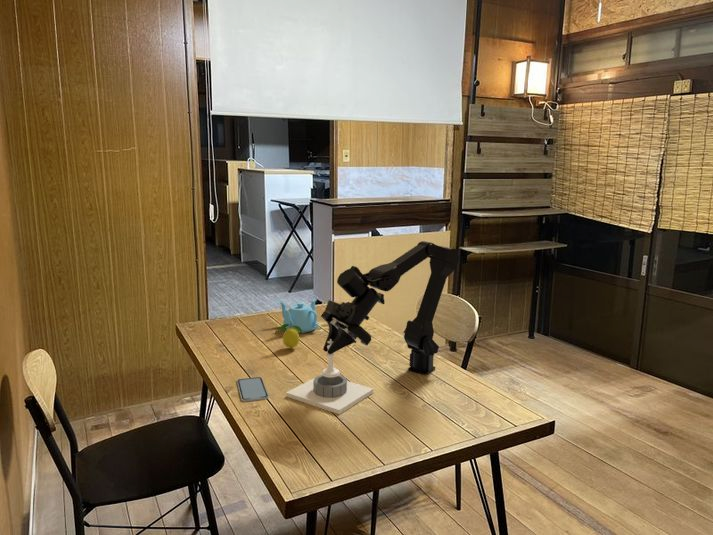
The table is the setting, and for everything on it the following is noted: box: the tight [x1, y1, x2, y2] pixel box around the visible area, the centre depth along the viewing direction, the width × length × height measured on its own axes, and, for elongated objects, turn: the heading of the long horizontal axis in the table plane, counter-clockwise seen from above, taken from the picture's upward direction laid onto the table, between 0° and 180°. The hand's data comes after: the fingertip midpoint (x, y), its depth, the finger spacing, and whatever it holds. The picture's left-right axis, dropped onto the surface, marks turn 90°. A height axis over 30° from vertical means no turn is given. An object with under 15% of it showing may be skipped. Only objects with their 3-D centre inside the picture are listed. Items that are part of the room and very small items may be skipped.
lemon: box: [278, 323, 303, 350], centre depth 181 cm, size 7×6×10 cm
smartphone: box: [236, 376, 270, 403], centre depth 150 cm, size 7×1×15 cm
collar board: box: [285, 373, 374, 415], centre depth 147 cm, size 18×16×4 cm
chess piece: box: [321, 339, 341, 378], centre depth 145 cm, size 5×5×10 cm
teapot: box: [278, 298, 319, 334], centre depth 203 cm, size 15×15×10 cm
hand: (326, 352), depth 144 cm, fingers closed on chess piece
